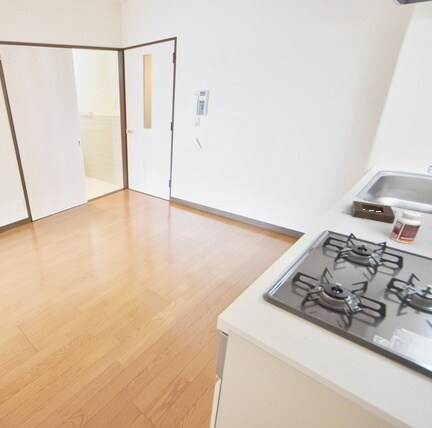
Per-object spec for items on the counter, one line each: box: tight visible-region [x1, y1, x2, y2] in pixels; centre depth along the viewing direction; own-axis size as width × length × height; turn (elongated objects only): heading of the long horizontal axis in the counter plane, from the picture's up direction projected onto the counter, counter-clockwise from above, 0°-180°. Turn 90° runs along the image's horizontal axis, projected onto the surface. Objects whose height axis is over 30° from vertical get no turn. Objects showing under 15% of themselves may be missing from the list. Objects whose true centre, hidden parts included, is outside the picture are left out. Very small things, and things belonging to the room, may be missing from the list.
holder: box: [351, 200, 396, 224], centre depth 124 cm, size 13×13×3 cm
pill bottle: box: [390, 210, 422, 244], centre depth 102 cm, size 6×6×11 cm
